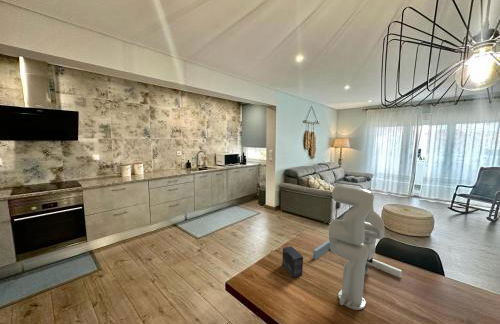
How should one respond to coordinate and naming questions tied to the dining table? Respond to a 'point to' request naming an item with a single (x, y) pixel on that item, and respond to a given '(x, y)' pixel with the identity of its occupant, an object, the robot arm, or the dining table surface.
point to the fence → (375, 263)
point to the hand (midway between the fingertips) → (366, 265)
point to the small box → (292, 261)
